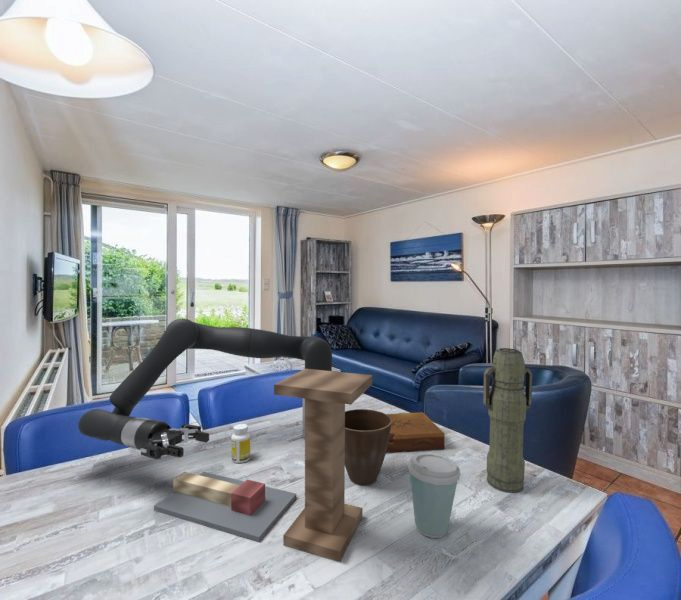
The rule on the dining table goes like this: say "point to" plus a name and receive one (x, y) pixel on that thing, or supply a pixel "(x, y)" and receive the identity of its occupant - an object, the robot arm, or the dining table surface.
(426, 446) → the diary
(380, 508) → the dining table surface
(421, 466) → the disposable coffee cup
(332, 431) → the brown tall pedestal shape
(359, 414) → the plant pot
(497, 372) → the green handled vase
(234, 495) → the bar
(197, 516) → the mat
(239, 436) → the supplement bottle
